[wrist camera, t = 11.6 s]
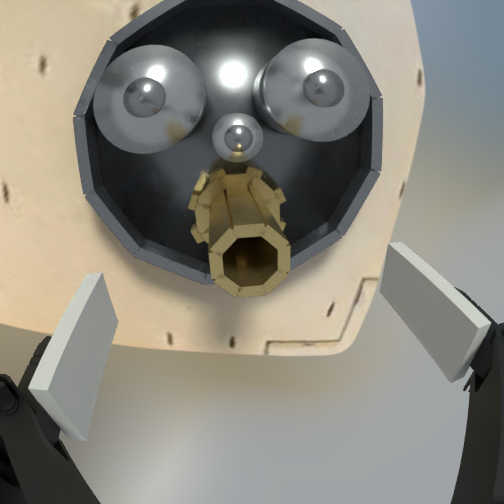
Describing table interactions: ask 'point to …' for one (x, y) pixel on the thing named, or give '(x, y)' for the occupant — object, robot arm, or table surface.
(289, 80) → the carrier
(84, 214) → the table surface
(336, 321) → the table surface
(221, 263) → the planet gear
